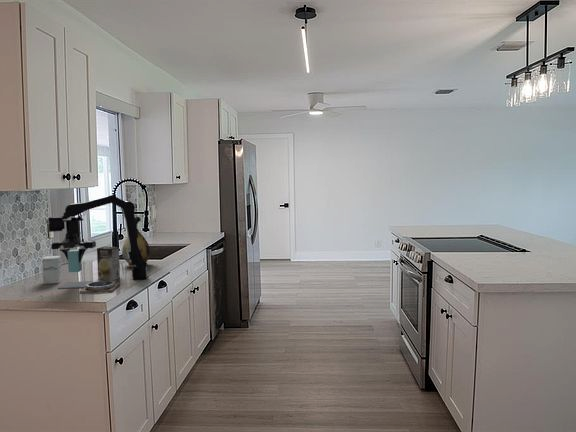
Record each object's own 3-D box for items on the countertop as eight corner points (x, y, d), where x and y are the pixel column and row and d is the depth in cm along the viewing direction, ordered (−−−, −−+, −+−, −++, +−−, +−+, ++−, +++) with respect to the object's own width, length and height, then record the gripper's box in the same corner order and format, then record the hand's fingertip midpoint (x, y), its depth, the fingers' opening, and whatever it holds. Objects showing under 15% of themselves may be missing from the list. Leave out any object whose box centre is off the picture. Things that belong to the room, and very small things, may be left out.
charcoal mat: (92, 282, 227) (92, 281, 227) (84, 288, 215) (84, 287, 215) (67, 282, 226) (67, 281, 226) (57, 288, 214) (57, 287, 214)
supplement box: (42, 284, 223) (41, 258, 222) (46, 281, 230) (44, 256, 229) (59, 283, 225) (57, 257, 224) (62, 279, 232) (60, 255, 231)
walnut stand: (119, 284, 221) (119, 282, 221) (112, 292, 207) (112, 290, 207) (89, 285, 219) (89, 283, 219) (79, 293, 205) (79, 291, 205)
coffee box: (97, 279, 233) (95, 248, 231) (105, 276, 239) (104, 246, 237) (112, 280, 230) (111, 248, 229) (120, 277, 236) (119, 246, 235)
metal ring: (117, 285, 220) (117, 280, 220) (110, 291, 208) (110, 286, 207) (91, 286, 218) (90, 281, 218) (82, 292, 206) (82, 287, 206)
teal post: (81, 269, 222) (80, 249, 221) (78, 271, 218) (77, 251, 217) (72, 270, 222) (70, 249, 221) (68, 272, 217) (67, 251, 216)
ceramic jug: (129, 263, 275) (127, 213, 272) (154, 263, 274) (152, 213, 271) (116, 268, 258) (114, 215, 256) (143, 269, 257) (141, 216, 254)
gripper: (45, 233, 209) (47, 266, 210) (88, 232, 211) (89, 265, 212) (54, 230, 220) (56, 262, 221) (95, 229, 222) (97, 260, 223)
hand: (74, 262), depth 219 cm, fingers closed on teal post, 4 cm apart
